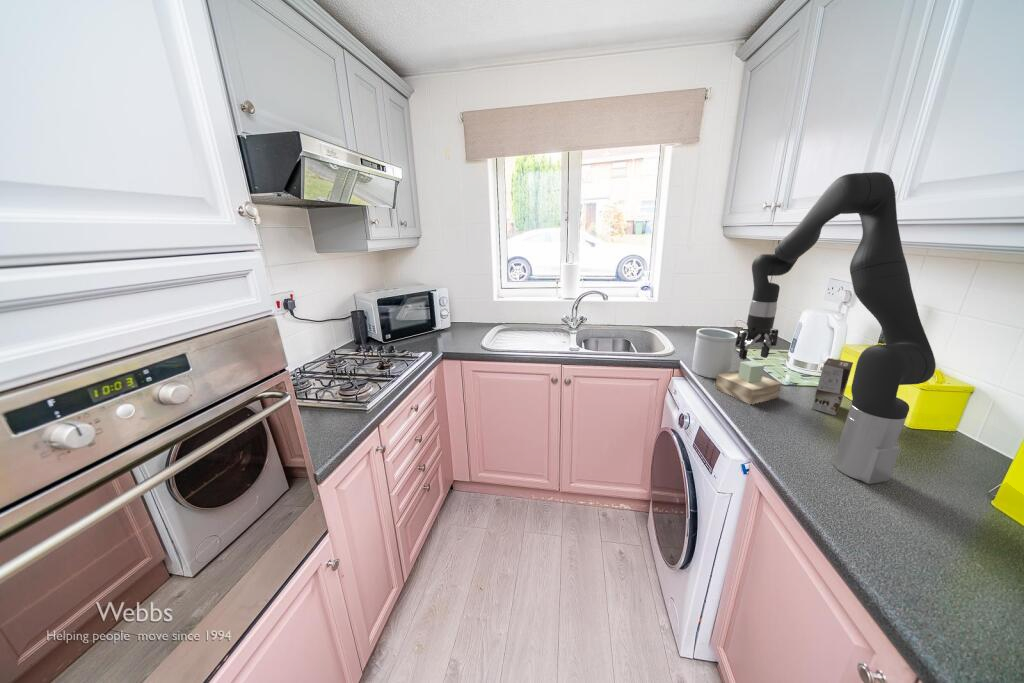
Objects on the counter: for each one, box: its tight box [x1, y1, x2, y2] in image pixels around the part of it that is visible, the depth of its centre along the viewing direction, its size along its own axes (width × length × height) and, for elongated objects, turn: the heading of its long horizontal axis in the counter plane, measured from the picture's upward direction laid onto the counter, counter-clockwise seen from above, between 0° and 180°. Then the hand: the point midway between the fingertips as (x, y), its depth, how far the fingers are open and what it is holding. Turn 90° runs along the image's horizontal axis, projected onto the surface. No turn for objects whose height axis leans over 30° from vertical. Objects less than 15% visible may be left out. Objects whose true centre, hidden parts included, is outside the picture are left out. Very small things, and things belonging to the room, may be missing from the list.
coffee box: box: [811, 357, 854, 416], centre depth 115 cm, size 9×6×16 cm
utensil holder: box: [691, 327, 738, 379], centre depth 145 cm, size 15×15×18 cm
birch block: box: [714, 369, 782, 405], centre depth 128 cm, size 14×14×6 cm
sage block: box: [738, 360, 765, 382], centre depth 126 cm, size 5×5×6 cm
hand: (753, 358), depth 125 cm, fingers open, 8 cm apart
